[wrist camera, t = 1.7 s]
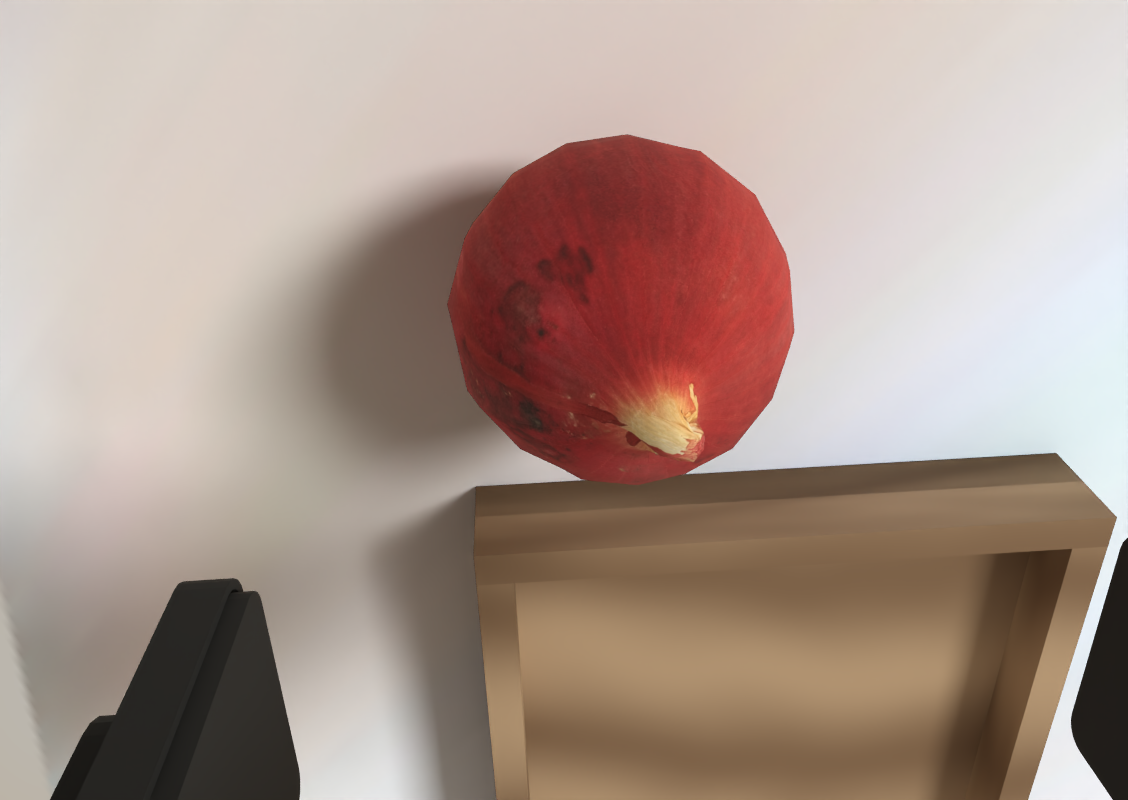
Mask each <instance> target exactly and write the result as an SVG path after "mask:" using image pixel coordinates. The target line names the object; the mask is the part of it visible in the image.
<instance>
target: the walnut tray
mask: <svg viewBox="0 0 1128 800" xmlns="http://www.w3.org/2000/svg"><path fill="white" fill-rule="evenodd" d="M1116 519H1117V517H1116V516H1115V515H1114V514H1113V513H1112V512H1111V511H1110V510H1109V509H1108V507H1107V506H1106V505H1105V504H1104V503H1103V502H1102V501H1101V500H1100V499H1099V498H1098V497H1097V496H1096V495H1095V494H1094V493H1093V492H1092V490H1091V489H1090V488H1089V487H1088V486H1087V485H1086V484H1085V483H1084V482H1083V481H1082V480H1081V479H1080V478H1079V477H1078V476H1077V475H1076V474H1075V472H1074V471H1073V470H1072V469H1071V468H1070V467H1069V466H1068V465H1067V464H1066V463H1065V462H1064V461H1063V460H1062V459H1061V458H1060V457H1059V456H1058V454H1057V453H1052V454H1035V455H1018V456H1000V457H983V458H966V459H949V460H931V461H914V462H897V463H879V464H862V465H845V466H828V467H810V468H793V469H776V470H758V471H741V472H724V473H707V474H689V475H678V476H674V477H670V478H666V479H662V480H657V481H653V482H649V483H645V484H641V485H629V484H620V483H609V482H597V481H589V480H585V481H568V482H551V483H534V484H516V485H499V486H482V487H476V501H475V531H474V566H475V576H476V587H477V597H478V608H479V619H480V629H481V640H482V650H483V661H484V672H485V682H486V693H487V704H488V714H489V725H490V735H491V746H492V757H493V767H494V778H495V788H496V799H497V800H1028V798H1029V795H1030V792H1031V788H1032V785H1033V782H1034V779H1035V776H1036V773H1037V769H1038V766H1039V763H1040V760H1041V757H1042V754H1043V750H1044V747H1045V744H1046V741H1047V738H1048V734H1049V731H1050V728H1051V725H1052V722H1053V719H1054V715H1055V712H1056V709H1057V706H1058V703H1059V700H1060V696H1061V693H1062V690H1063V687H1064V684H1065V681H1066V677H1067V674H1068V671H1069V668H1070V665H1071V661H1072V658H1073V655H1074V652H1075V649H1076V646H1077V642H1078V639H1079V636H1080V633H1081V630H1082V627H1083V623H1084V620H1085V617H1086V614H1087V611H1088V608H1089V604H1090V601H1091V598H1092V595H1093V592H1094V589H1095V585H1096V582H1097V579H1098V576H1099V573H1100V569H1101V566H1102V563H1103V560H1104V557H1105V554H1106V550H1107V547H1108V544H1109V541H1110V538H1111V535H1112V531H1113V528H1114V525H1115V522H1116Z"/></svg>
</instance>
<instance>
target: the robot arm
mask: <svg viewBox="0 0 1128 800" xmlns="http://www.w3.org/2000/svg"><path fill="white" fill-rule="evenodd" d="M1071 728H1072V733H1073V737H1074V740H1075V743H1076V745H1077V747H1078V749H1079V751H1080V752H1081V754H1082V755H1083V757H1084V758H1085V760H1086V761H1087V763H1088V764H1089V766H1090V767H1091V768H1092V770H1093V771H1094V773H1095V774H1096V776H1097V777H1098V779H1099V780H1100V782H1101V783H1102V785H1103V786H1104V787H1105V789H1106V790H1107V792H1108V793H1109V795H1110V796H1111V798H1112V799H1113V800H1128V538H1127V539H1126V540H1125V541H1124V542H1123V544H1122V546H1121V548H1120V552H1119V555H1118V558H1117V562H1116V565H1115V569H1114V572H1113V575H1112V579H1111V582H1110V586H1109V589H1108V593H1107V596H1106V599H1105V603H1104V606H1103V610H1102V613H1101V616H1100V620H1099V623H1098V627H1097V630H1096V633H1095V637H1094V640H1093V644H1092V647H1091V651H1090V654H1089V657H1088V661H1087V664H1086V668H1085V671H1084V674H1083V678H1082V681H1081V685H1080V688H1079V691H1078V695H1077V698H1076V702H1075V705H1074V709H1073V712H1072V717H1071ZM299 797H300V773H299V767H298V762H297V758H296V753H295V749H294V745H293V740H292V736H291V731H290V727H289V722H288V718H287V713H286V709H285V704H284V700H283V695H282V691H281V686H280V682H279V677H278V673H277V669H276V664H275V660H274V655H273V651H272V646H271V642H270V637H269V633H268V628H267V624H266V619H265V615H264V610H263V606H262V602H261V598H260V596H259V594H258V592H256V591H247V592H243V589H242V586H241V584H240V582H239V581H238V580H237V579H234V578H232V579H216V580H200V581H184V582H181V583H179V584H178V585H177V587H176V588H175V590H174V592H173V594H172V596H171V598H170V600H169V602H168V604H167V607H166V609H165V611H164V613H163V615H162V617H161V619H160V621H159V624H158V626H157V628H156V630H155V632H154V634H153V636H152V638H151V641H150V643H149V645H148V647H147V649H146V651H145V653H144V655H143V658H142V660H141V662H140V664H139V666H138V668H137V670H136V673H135V675H134V677H133V679H132V681H131V683H130V685H129V687H128V690H127V692H126V694H125V696H124V698H123V700H122V702H121V704H120V707H119V709H118V711H117V713H116V715H109V716H99V717H97V718H96V719H95V720H94V721H92V722H91V723H90V724H89V726H88V727H87V729H86V730H85V732H84V733H83V735H82V737H81V739H80V741H79V743H78V745H77V747H76V749H75V751H74V753H73V755H72V757H71V759H70V761H69V763H68V765H67V767H66V769H65V771H64V773H63V775H62V777H61V779H60V781H59V783H58V785H57V787H56V789H55V791H54V793H53V795H52V797H51V799H50V800H299Z"/></svg>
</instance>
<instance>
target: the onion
mask: <svg viewBox="0 0 1128 800" xmlns="http://www.w3.org/2000/svg"><path fill="white" fill-rule="evenodd" d="M447 305H448V309H449V313H450V317H451V322H452V326H453V330H454V334H455V339H456V343H457V347H458V352H459V356H460V361H461V365H462V369H463V374H464V378H465V382H466V387H467V391H468V392H469V393H470V395H471V396H472V397H473V399H474V400H475V401H476V403H477V404H478V405H479V406H480V408H481V409H482V410H483V411H484V412H485V413H486V414H487V415H488V416H489V417H490V418H491V419H492V420H493V421H494V422H495V423H496V424H497V425H498V426H499V427H500V428H501V429H502V430H503V431H504V432H505V433H506V435H507V436H508V437H509V438H510V439H511V440H512V441H513V442H514V443H515V444H516V445H517V446H518V447H519V448H520V449H522V450H524V451H526V452H528V453H530V454H532V455H534V456H537V457H539V458H541V459H543V460H545V461H547V462H549V463H551V464H554V465H556V466H558V467H560V468H562V469H564V470H566V471H568V472H569V473H571V474H573V475H575V476H576V477H578V478H580V479H583V480H589V481H597V482H609V483H620V484H629V485H641V484H645V483H649V482H653V481H657V480H662V479H666V478H670V477H674V476H678V475H682V474H686V473H687V472H689V471H691V470H693V469H695V468H697V467H698V466H700V465H702V464H704V463H706V462H708V461H710V460H712V459H714V458H715V457H717V456H719V455H721V454H723V453H725V452H727V451H729V450H731V449H733V447H734V446H735V445H736V444H737V442H738V441H739V440H740V439H741V437H742V436H743V435H744V434H745V432H746V431H747V430H748V429H749V427H750V426H751V425H752V424H753V422H754V421H755V420H756V419H757V417H758V416H759V415H760V414H761V412H762V411H763V410H764V409H765V407H766V406H767V405H768V404H769V402H770V401H771V400H772V398H773V395H774V392H775V389H776V386H777V383H778V380H779V377H780V374H781V372H782V369H783V366H784V363H785V360H786V357H787V354H788V351H789V348H790V345H791V341H792V337H793V334H794V322H793V308H792V294H791V281H790V270H789V266H788V262H787V257H786V253H785V251H784V249H783V247H782V245H781V243H780V242H779V240H778V238H777V236H776V234H775V232H774V230H773V228H772V226H771V224H770V222H769V220H768V218H767V217H766V215H765V213H764V211H763V209H762V207H761V205H760V203H759V201H758V199H757V197H756V195H755V194H754V193H752V192H751V191H750V190H749V189H747V188H746V187H745V186H744V185H742V184H741V183H740V182H739V181H737V180H736V179H735V178H733V177H732V176H731V175H730V174H728V173H727V172H726V171H725V170H723V169H722V168H721V167H720V166H718V165H717V164H716V163H715V162H713V161H712V160H711V159H710V158H708V157H707V156H706V155H705V154H703V153H702V152H701V151H697V150H692V149H687V148H682V147H678V146H673V145H669V144H665V143H661V142H657V141H652V140H648V139H644V138H640V137H635V136H631V135H620V136H613V137H606V138H600V139H593V140H586V141H579V142H573V143H566V144H565V145H563V146H561V147H559V148H557V149H556V150H554V151H552V152H550V153H548V154H547V155H545V156H543V157H541V158H540V159H538V160H536V161H534V162H532V163H531V164H529V165H527V166H525V167H524V168H522V169H520V170H518V171H516V172H515V173H513V174H512V175H511V176H510V178H509V179H508V180H507V181H506V183H505V184H504V185H503V186H502V188H501V189H500V190H499V191H498V193H497V194H496V195H495V196H494V198H493V199H492V200H491V201H490V202H489V204H488V205H487V206H486V207H485V209H484V210H483V211H482V212H481V214H480V215H479V216H478V217H477V219H476V220H475V221H474V222H473V224H472V226H471V228H470V229H469V231H468V233H467V235H466V237H465V239H464V243H463V247H462V250H461V254H460V258H459V262H458V266H457V269H456V273H455V277H454V281H453V285H452V288H451V292H450V296H449V300H448V304H447Z"/></svg>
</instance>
